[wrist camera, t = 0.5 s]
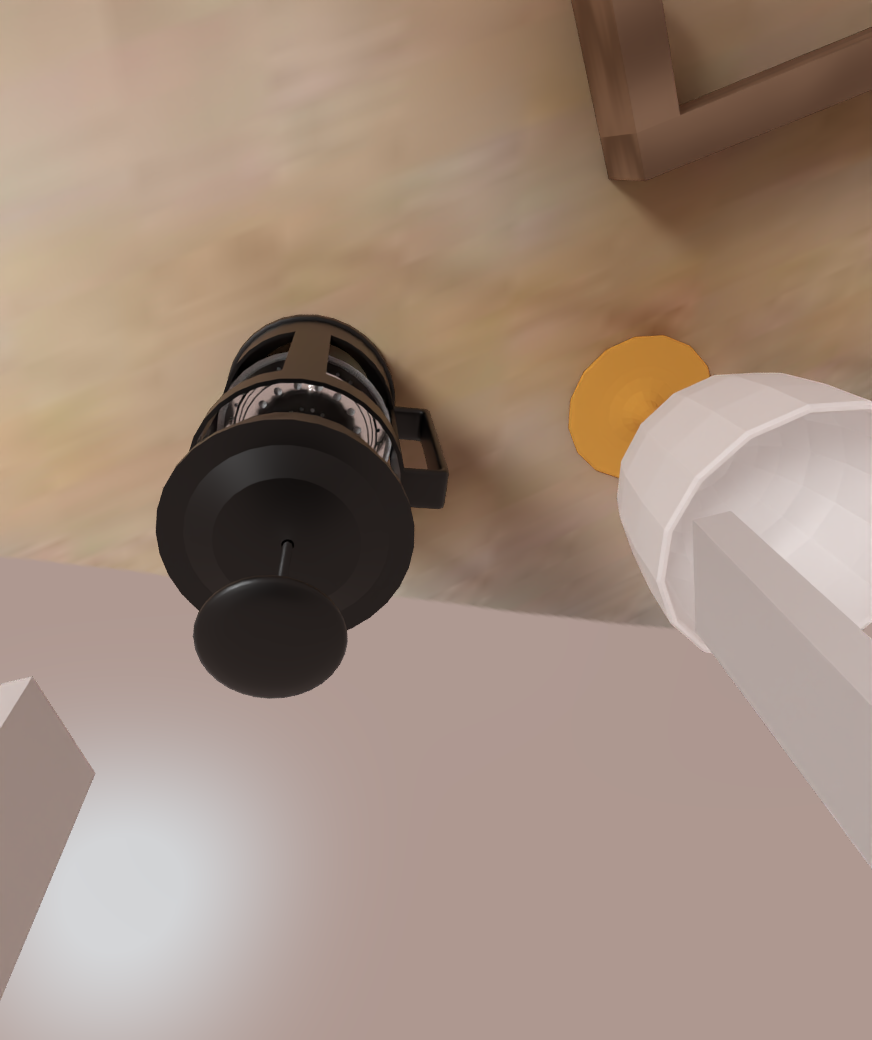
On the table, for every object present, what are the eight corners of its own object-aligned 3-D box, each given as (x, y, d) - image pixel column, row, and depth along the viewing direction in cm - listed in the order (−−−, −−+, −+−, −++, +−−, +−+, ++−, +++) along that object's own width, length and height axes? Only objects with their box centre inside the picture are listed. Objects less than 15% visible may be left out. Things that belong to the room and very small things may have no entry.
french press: (216, 466, 40) (78, 771, 20) (213, 303, 36) (35, 477, 16) (413, 480, 42) (472, 773, 22) (432, 326, 38) (527, 510, 17)
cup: (772, 376, 41) (1012, 494, 26) (649, 525, 45) (797, 702, 30) (628, 269, 37) (814, 336, 22) (508, 442, 41) (597, 598, 26)
